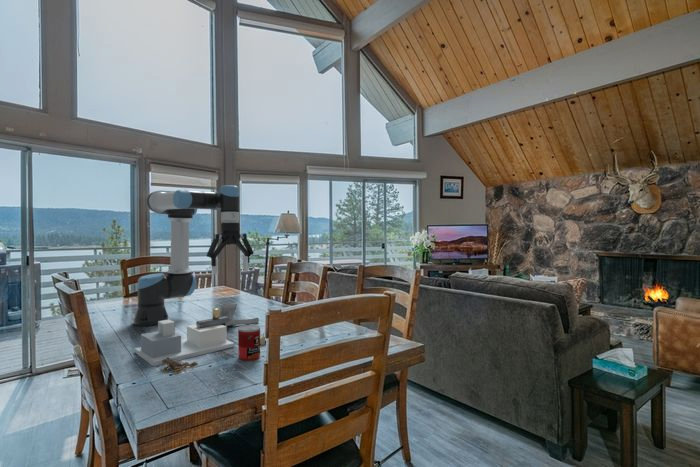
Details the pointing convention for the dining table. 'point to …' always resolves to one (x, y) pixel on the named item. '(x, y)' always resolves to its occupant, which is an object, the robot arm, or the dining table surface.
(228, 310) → the door handle
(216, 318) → the bolt
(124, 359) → the dining table surface
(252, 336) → the canned food
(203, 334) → the white stepped platform
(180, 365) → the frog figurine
